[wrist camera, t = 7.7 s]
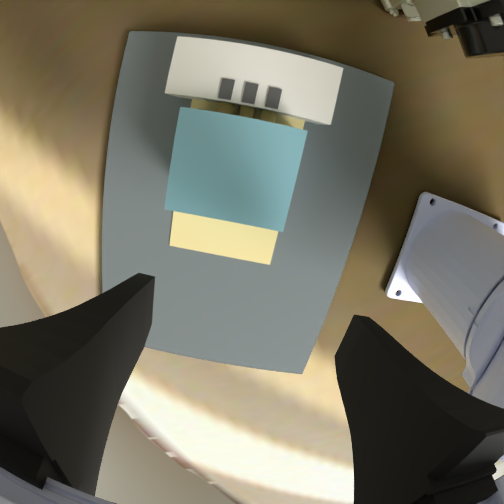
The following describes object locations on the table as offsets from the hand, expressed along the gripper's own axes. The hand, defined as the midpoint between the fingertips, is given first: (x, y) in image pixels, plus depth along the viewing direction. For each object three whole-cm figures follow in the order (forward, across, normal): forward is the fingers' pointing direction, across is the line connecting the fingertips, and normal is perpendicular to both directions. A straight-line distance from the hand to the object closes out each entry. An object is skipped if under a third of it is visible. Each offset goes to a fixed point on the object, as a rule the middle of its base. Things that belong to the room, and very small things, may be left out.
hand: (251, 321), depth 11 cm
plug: (+9, +2, -4) cm, 10 cm away
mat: (+10, +2, 0) cm, 10 cm away
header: (+9, +2, -7) cm, 12 cm away
